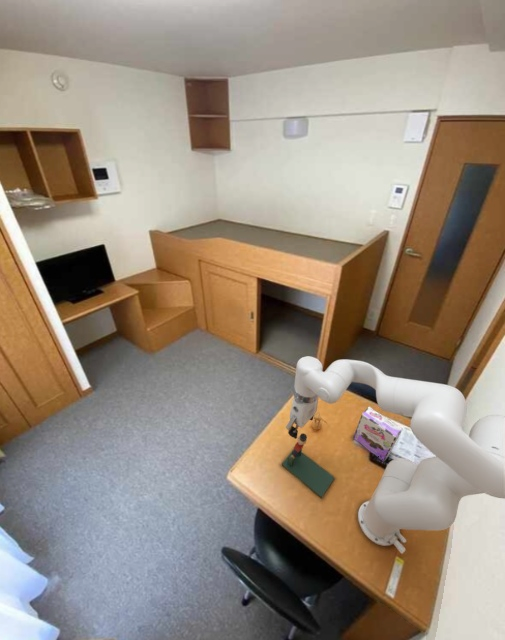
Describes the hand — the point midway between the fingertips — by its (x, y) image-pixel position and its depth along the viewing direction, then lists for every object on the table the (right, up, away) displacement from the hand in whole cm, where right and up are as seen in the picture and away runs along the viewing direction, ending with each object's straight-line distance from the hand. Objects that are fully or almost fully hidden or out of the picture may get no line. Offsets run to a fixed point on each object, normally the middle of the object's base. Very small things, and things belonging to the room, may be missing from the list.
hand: (300, 426), depth 97 cm
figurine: (+10, -11, +24) cm, 29 cm away
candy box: (+32, -15, +18) cm, 40 cm away
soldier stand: (+4, -21, +9) cm, 23 cm away
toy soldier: (+1, -10, +5) cm, 12 cm away
